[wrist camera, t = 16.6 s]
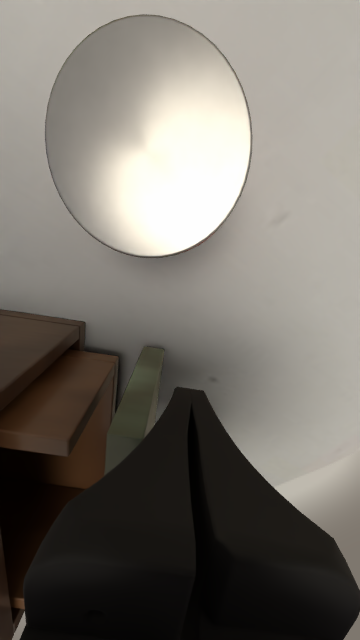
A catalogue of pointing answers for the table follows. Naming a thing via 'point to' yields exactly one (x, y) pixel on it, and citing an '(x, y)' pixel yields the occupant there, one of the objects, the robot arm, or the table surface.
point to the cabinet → (13, 377)
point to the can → (148, 136)
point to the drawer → (66, 444)
